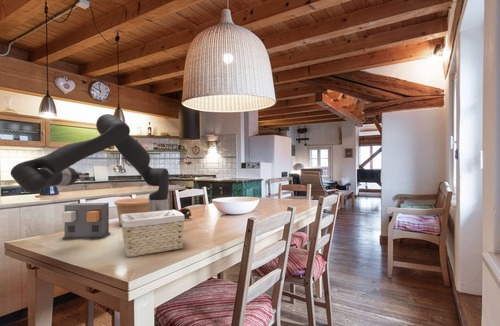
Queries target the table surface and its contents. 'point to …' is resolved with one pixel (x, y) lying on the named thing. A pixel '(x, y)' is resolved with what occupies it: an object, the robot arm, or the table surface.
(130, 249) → the storage basket
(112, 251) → the table surface
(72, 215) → the cream paddle
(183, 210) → the pottery mug
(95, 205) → the switch box
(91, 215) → the orange paddle
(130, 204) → the pottery
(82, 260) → the table surface
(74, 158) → the robot arm
